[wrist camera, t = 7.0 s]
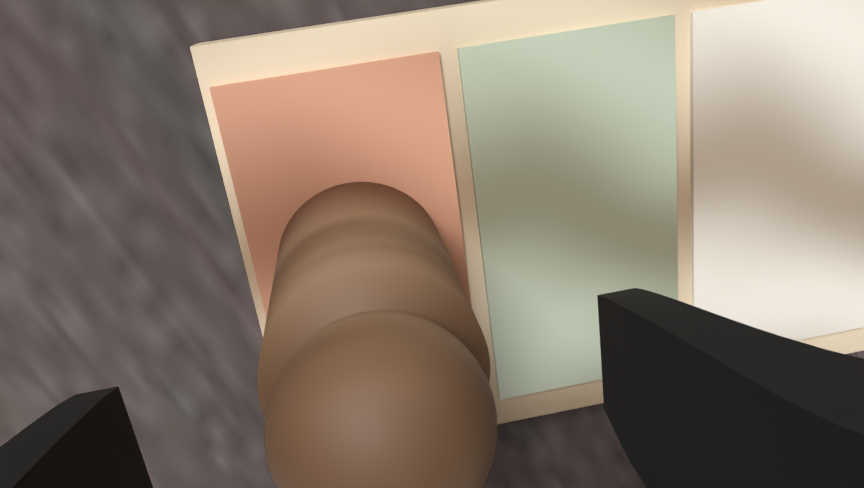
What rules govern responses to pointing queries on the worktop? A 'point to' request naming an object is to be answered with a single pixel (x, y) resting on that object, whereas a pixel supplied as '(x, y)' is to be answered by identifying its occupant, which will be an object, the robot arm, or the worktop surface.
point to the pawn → (372, 351)
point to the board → (572, 161)
